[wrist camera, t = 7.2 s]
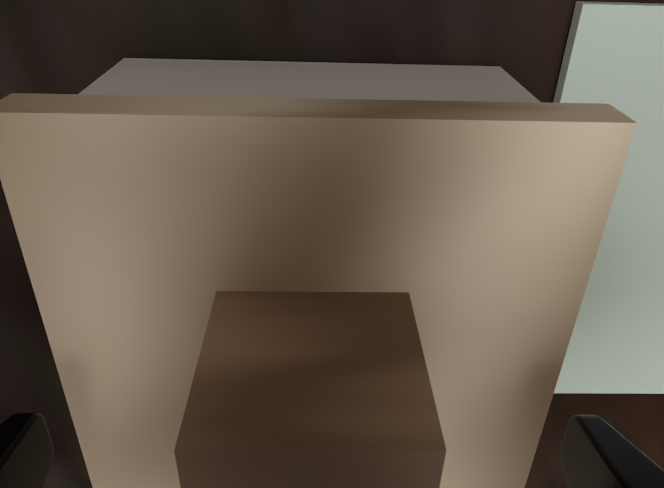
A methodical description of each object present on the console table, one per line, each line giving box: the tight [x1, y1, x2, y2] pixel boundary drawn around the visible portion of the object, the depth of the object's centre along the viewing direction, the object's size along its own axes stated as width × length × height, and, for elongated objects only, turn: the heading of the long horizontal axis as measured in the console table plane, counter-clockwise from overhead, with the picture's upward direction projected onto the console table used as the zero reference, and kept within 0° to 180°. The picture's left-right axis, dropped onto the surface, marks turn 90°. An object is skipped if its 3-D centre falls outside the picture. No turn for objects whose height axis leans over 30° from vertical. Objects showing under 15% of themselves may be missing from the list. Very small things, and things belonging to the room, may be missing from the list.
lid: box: [0, 93, 637, 488], centre depth 10 cm, size 10×10×4 cm
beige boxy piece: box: [79, 58, 540, 102], centre depth 14 cm, size 9×9×4 cm
